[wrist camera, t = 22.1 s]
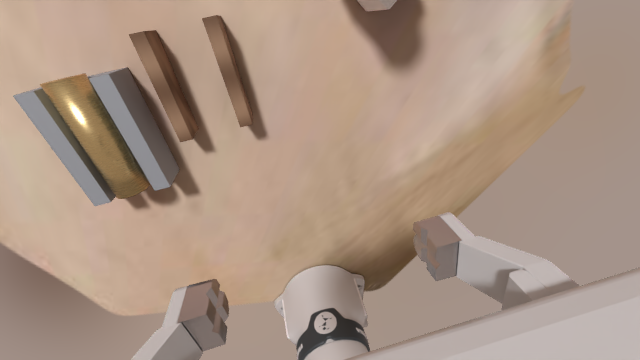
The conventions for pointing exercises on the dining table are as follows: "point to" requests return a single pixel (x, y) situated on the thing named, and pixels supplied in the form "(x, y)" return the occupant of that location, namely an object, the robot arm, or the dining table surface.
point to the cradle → (130, 121)
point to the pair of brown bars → (168, 83)
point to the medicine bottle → (376, 4)
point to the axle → (97, 134)
